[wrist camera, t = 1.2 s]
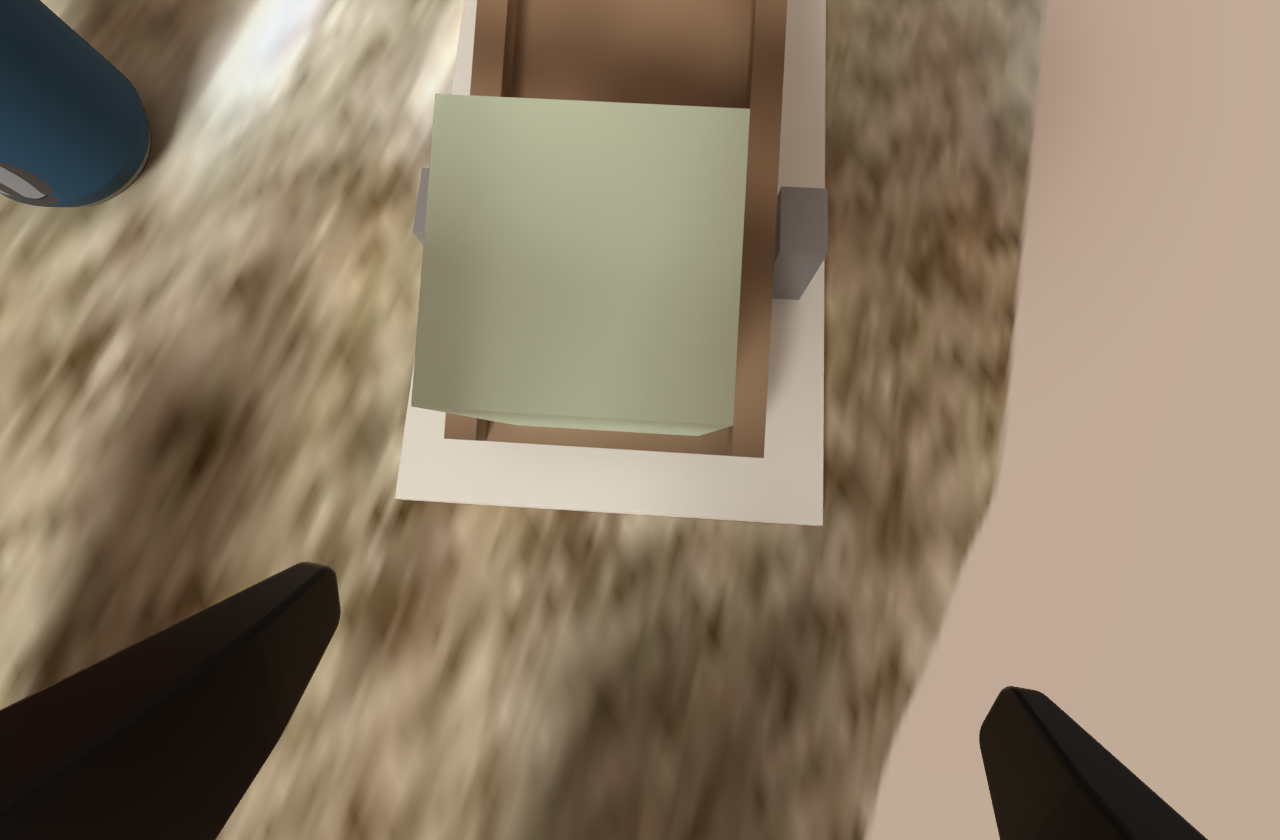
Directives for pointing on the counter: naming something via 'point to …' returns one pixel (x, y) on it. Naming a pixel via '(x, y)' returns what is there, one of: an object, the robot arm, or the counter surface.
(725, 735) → the counter surface
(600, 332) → the pale green block
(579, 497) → the stand
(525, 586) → the counter surface
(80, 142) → the soda can
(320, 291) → the counter surface
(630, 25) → the beam
